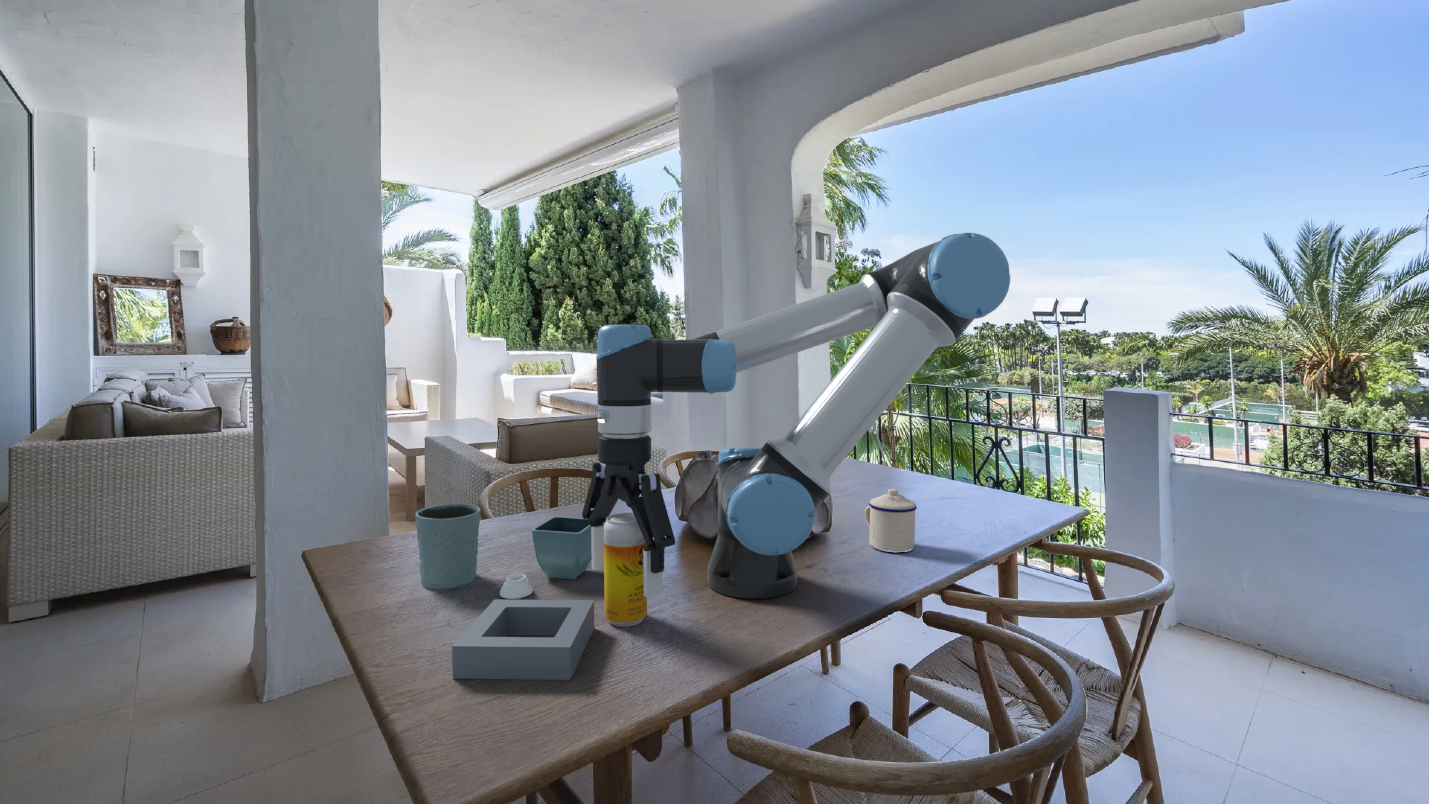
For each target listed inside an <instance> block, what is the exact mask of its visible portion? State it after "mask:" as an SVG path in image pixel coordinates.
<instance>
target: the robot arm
mask: <svg viewBox="0 0 1429 804" xmlns="http://www.w3.org/2000/svg"><path fill="white" fill-rule="evenodd" d="M1010 284H1011V275H1010V265H1009V261H1008V259H1007V257H1006V254H1005V253H1004V251H1003V250H1002V248H1001V247H1000V246H999V245H998V244H997V243H996V241H994V240H993V239H992V238H991V239H990V238H989V237H987V236H985V235H983V234H980V233H977V232H976V233H975V232H961V233H953V234H948V235H947V236H944V237H942V238H941V239H940V240H939V241H938V240H937V242H932V243H931V244H927V245H926V246H923V247H920V248H918V249H915V250H914V251H911V252H909V253H908V254H906V255H905V256H902V257H900V258H898V259H897V260H896V261H892V263H889V264H887V265H885V266H884V267H881V268H878V269H876V270H873V271H871V272H867V273H865V274H863V275H862V276H861V278H860V279H859V281H858V283H854V284H852V285H848V286H846V287H843V288H840V289H837V290H834V291H831V292H828V293H825V294H822V295H820V296H816V297H813V298H810V299H807V300H805V301H801V302H798V303H796V304H793V305H789V306H787V307H783V308H781V309H777V310H774V311H771V312H768V313H766V314H763V315H760V316H758V317H754V318H751V319H748V320H745V321H743V322H739V323H736V324H734V325H731V326H727V327H725V328H722V329H719V330H716V331H714V332H711V333H710V332H709V333H708V334H707V333H706V334H704V335H701V336H698V337H695V338H692V339H660V338H659V339H658V338H653V335H652V330H651V327H650V326H648V325H644V324H605V325H602V326H601V327H600V329H599V330H598V332H597V348H596V356H595V360H596V381H597V382H596V383H597V384H596V385H597V387H596V391H597V393H596V394H597V414H596V418H597V431H598V432H599V433H600V434H601V435H600V436H599V437H598V438H597V459H598V461H599V462H593V464H592V469H591V470H592V472H591V479H590V483H589V487H588V491H587V495H586V497H585V501H584V506H583V509H582V512H581V516H582V517H581V518H583V519H588V523H589V525H590V526H591V547H592V559H591V570H592V571H598V570H601V569H604V525H605V522H606V519H607V517H608V516H611V513H612V511H613V509H614V508H615V506H616V504H617V502H618V500H620V501H622V502H624V503H625V504H626V507H628V508H630V509H631V511H632V513H633V514H634V516H635V518H636V521H637V523H638V526H639V528H640V530H641V533H642V535H643V537H644V540H645V542H646V545H647V546H646V547H645V548H644V549H643V588H644V596H645V597H647V598H648V597H653V596H655V595H659V594H662V593H663V592H664V571H665V549H666V548H667V547H672V546H675V544H676V539H675V534H674V531H673V527H672V524H671V521H670V517H669V513H668V509H667V507H666V506H667V505H666V502H665V498H664V495H663V492H662V485H661V484H662V483H661V476H660V474H659V473H657V472H656V473H652V474H651V473H650V474H647V472H646V467H645V466H646V464H648V462H650V461H651V460H652V437H651V436H650V435H649V434H648V433H650V432H651V431H652V425H653V424H652V398H651V397H652V393H687V394H688V393H696V394H697V393H701V394H702V393H705V394H706V393H708V394H711V395H712V394H716V393H730V392H731V391H733V390H734V388H735V387H736V380H737V374H738V373H740V372H744V371H747V370H750V369H753V368H756V367H759V366H762V365H765V364H768V363H770V362H773V361H777V360H779V359H782V358H785V357H789V356H791V355H795V354H797V353H801V352H804V351H806V350H809V349H812V348H815V347H818V346H821V345H823V344H827V343H830V342H833V341H836V340H839V339H842V338H844V337H847V336H850V335H854V334H856V333H859V332H862V331H866V330H869V329H871V328H872V330H871V331H870V333H869V334H868V335H867V336H866V337H865V339H863V341H862V342H861V344H859V346H858V347H857V348H856V349H855V350H854V352H853V353H852V354H851V355H850V357H849V358H848V359H847V360H846V362H844V364H843V365H842V366H841V368H840V369H839V370H838V371H837V373H836V374H835V375H834V376H833V378H832V379H831V380H829V382H828V383H827V385H826V386H825V387H824V388H823V390H822V391H821V392H820V393H819V394H818V395H817V397H816V398H815V400H814V401H813V402H812V403H811V404H810V405H809V406H808V408H807V409H806V410H805V411H804V413H803V414H802V415H801V416H800V417H799V419H798V420H797V421H796V423H795V424H794V425H793V426H792V427H791V429H790V430H789V431H788V432H787V434H785V436H784V437H782V438H779V439H770V440H769V439H768V440H767V441H766V443H765V444H764V445H763V446H736V447H735V446H733V447H730V446H729V447H723V448H722V449H720V450H719V452H718V459H717V463H716V468H717V471H718V472H717V476H718V477H717V490H718V491H717V539H716V541H715V543H714V547H713V550H712V553H711V556H710V558H709V562H708V565H707V570H706V571H707V573H706V575H707V577H706V579H707V580H706V582H707V585H708V586H709V587H710V588H711V589H712V590H714V591H715V592H718V593H719V594H723V595H726V596H729V597H733V598H740V599H754V600H755V599H757V600H758V599H759V600H760V599H771V598H772V599H773V598H775V597H781V596H784V595H786V594H789V593H791V592H793V591H794V590H796V588H797V586H798V569H797V566H796V561H795V559H794V556H793V553H792V552H793V550H796V549H798V548H799V546H801V545H802V544H803V543H804V542H805V541H806V540H807V539H808V537H809V536H810V534H811V532H812V531H813V527H814V524H815V518H816V517H815V516H816V511H817V510H818V509H819V507H820V506H821V505H822V503H823V502H824V501H825V500H826V498H827V497H828V496H829V495H830V494H831V493H832V491H831V481H830V479H831V475H833V473H834V472H835V471H836V469H837V468H838V467H839V466H840V465H841V464H842V462H843V461H844V460H845V458H846V457H847V456H849V454H850V453H851V451H852V450H853V449H854V447H856V446H857V444H858V443H859V442H860V440H862V438H863V437H864V436H865V434H866V433H867V432H868V431H869V430H870V428H871V427H872V426H873V425H874V424H875V422H877V420H878V419H879V417H880V416H881V415H882V414H883V413H884V411H885V410H886V409H887V408H888V406H889V405H890V404H891V403H892V402H893V401H894V399H895V398H896V397H897V396H898V395H899V393H900V392H901V391H902V390H903V389H904V388H905V386H906V385H907V384H908V383H909V382H910V380H911V379H912V377H914V375H915V374H916V373H917V371H919V369H920V368H921V367H922V366H923V365H924V363H925V362H926V361H927V360H928V358H929V357H930V356H931V355H932V354H933V352H934V351H935V350H936V349H937V348H941V347H950V346H952V345H954V344H955V343H956V342H957V340H958V339H959V338H960V337H961V335H963V333H964V332H965V331H966V329H968V327H969V326H970V325H971V323H973V321H974V320H975V319H982V318H984V317H986V316H987V315H989V314H991V313H992V312H994V311H996V309H997V308H999V307H1000V306H1001V304H1003V302H1004V300H1005V299H1006V297H1007V295H1008V292H1009V289H1010Z"/></svg>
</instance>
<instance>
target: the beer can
mask: <svg viewBox="0 0 1429 804" xmlns="http://www.w3.org/2000/svg"><path fill="white" fill-rule="evenodd" d="M604 524H605V525H604ZM604 524H603V525H604V568H603V573H604V574H603V578H604V581H603V583H604V584H603V585H604V587H603V588H604V590H603V591H604V592H603V593H604V594H603V595H604V617H605V618H606V620H608V622H609V624H610V625H612V626H614V627H623V628H625V627H632V626H636V625H639V624H640V623H642V622H643V621H644V618H646V616H647V615H648V614H647V613H648V597H645V596H644V588H643V549H644V548H645V547H646V546H647V545H646V542H645V540H644V537H643V535H642V533H641V530H640V528H639V526H638V523H637V521H636V518H635V516H634V514H633V512H632V513H631V512H630V513H629V512H624V513H622V512H621V513H615V514H612V515H611V514H610V515H609V516H608V517H607V519H606V522H605V523H604Z"/></svg>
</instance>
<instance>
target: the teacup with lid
mask: <svg viewBox="0 0 1429 804" xmlns="http://www.w3.org/2000/svg"><path fill="white" fill-rule="evenodd" d="M916 504H917V503H915V501H914V500H911V499H909V498H907V497H905V496H903V495H902V494H900V493H899V490H898V489H897V488H889V489H888V490H887V493H884V494H882V495H880V496H876V497H873V498H871V499H870V500H869V503H868V505H867V506H866V508H865V510H864V517H865V522H866V524H867V526H868V527H869V532H868V533H869V534H868V535H869V536H868V538H869V539H868V540H869V541H868V544H869V543H870V544H871V545H873V546H874V547H876V548H881V549H885V550H891V551H905V550H909V549H912V548H913V547H914V548H915V532H916V531H915V530H916V510H917V507H918V506H917V505H916ZM870 544H869V545H870Z"/></svg>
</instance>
